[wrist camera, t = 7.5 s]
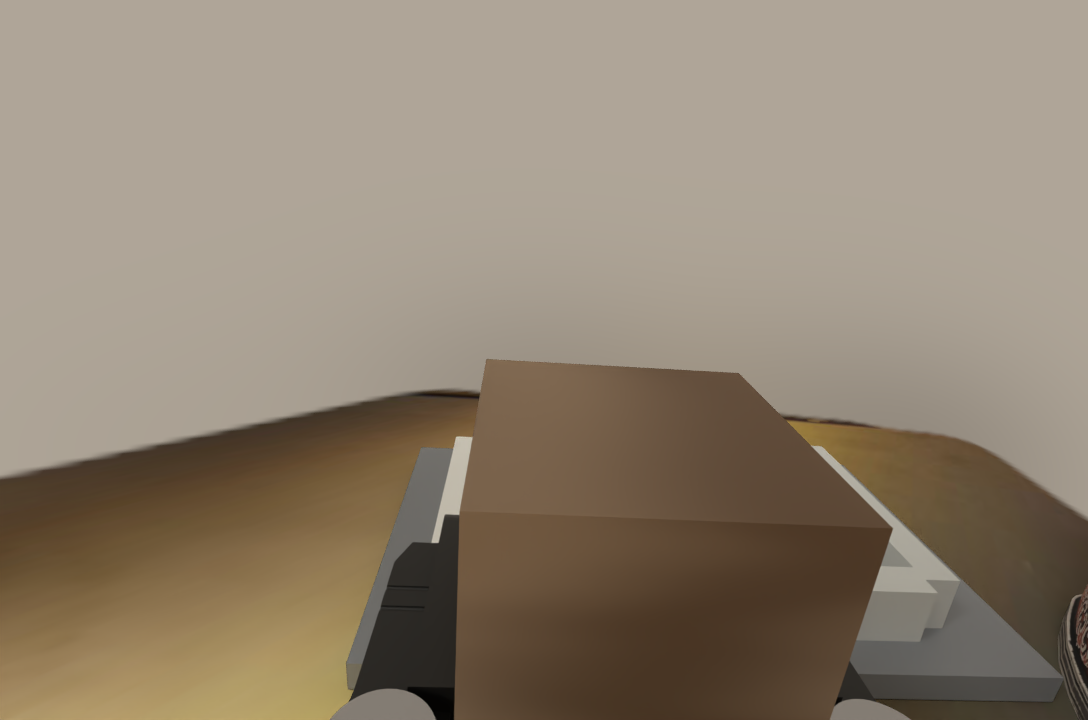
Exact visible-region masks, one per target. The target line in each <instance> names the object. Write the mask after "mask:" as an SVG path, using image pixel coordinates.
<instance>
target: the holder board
mask: <svg viewBox="0 0 1088 720" xmlns="http://www.w3.org/2000/svg"><path fill="white" fill-rule="evenodd" d="M472 438H473V437H456V440H455V444H454V449H450V448H426V447H421V450H420V453H419V456H418V458H417V461H416V464H415V467H414V470H413V473H412V476H411V479H410V481H409V484H408V487H407V490H406V493H405V496H404V499H403V502H402V504H401V507H400V510H399V513H398V516H397V519H396V522H395V525H394V527H393V530H392V533H391V536H390V539H389V542H388V545H387V548H386V550H385V553H384V556H383V559H382V562H381V565H380V568H379V571H378V573H377V576H376V579H375V582H374V585H373V588H372V591H371V594H370V596H369V599H368V602H367V605H366V608H365V611H364V614H363V617H362V619H361V622H360V625H359V628H358V631H357V634H356V637H355V640H354V642H353V645H352V648H351V651H350V654H349V657H348V660H347V663H346V668H347V684H348V689H354V688H355V685H356V682H357V679H358V676H359V672H360V669H361V666H362V663H363V660H364V657H365V653H366V650H367V647H368V644H369V641H370V638H371V634H372V631H373V628H374V625H375V622H376V618H377V615H378V612H379V610H380V608H381V603H382V599H383V596H384V593H385V590H386V589H387V584H388V580H389V577H390V574H391V571H392V568H393V564H394V562H395V560H396V559H397V558H398V557H399V556H400V555H401V554H402V553H403V552H404V551H405V550H406V549H407V548H408V547H409V545H410V544H411V543H412V542H423V543H439V538H440V534H441V529H442V524H443V520H444V516H445V514H452V515H459V513H460V506H461V500H462V494H463V489H464V483H465V477H466V472H467V466H468V461H469V455H470V449H471V444H472ZM812 447H813V448H814V449H815V450H816V451H817V452H818V453H819V454H820V455H821V456H822V457H823V458H824V459H825V460H826V461H827V462H828V463H829V464H830V465H831V466H832V467H833V468H834V469H835V470H836V471H837V472H838V473H839V474H840V475H841V476H842V477H843V478H844V480H845V481H846V482H847V483H848V484H849V485H850V486H851V487H852V488H853V489H854V490H855V491H856V492H857V493H858V494H859V495H860V496H861V497H862V498H863V499H864V500H865V501H866V502H867V503H868V504H869V505H870V506H871V507H872V508H873V509H874V510H875V511H876V512H877V513H878V514H879V515H880V516H881V517H882V518H883V519H884V520H885V521H886V522H887V523H888V524H889V525H890V526H891V527H892V528H893V531H892V534H891V537H890V540H889V543H888V546H887V549H886V552H885V555H884V558H883V561H882V564H881V567H880V570H879V573H878V576H877V579H876V582H875V585H874V588H873V591H872V594H871V597H870V600H869V603H868V606H867V609H866V612H865V615H864V618H863V621H862V624H861V627H860V630H859V633H858V636H857V639H856V642H855V645H854V648H853V651H852V654H851V657H850V662H851V664H852V665H853V667H854V668H855V670H856V671H857V673H858V674H859V676H860V678H861V679H862V681H863V682H864V684H865V685H866V687H867V688H868V690H869V691H870V693H871V695H872V696H873V698H874V699H921V700H977V701H1032V702H1053V700H1054V698H1055V696H1056V694H1057V692H1058V690H1059V688H1060V686H1061V684H1062V682H1063V680H1064V677H1063V676H1062V675H1061V674H1060V673H1058V672H1057V671H1056V670H1055V669H1054V668H1053V667H1052V666H1051V665H1050V664H1049V663H1048V662H1047V661H1046V660H1045V659H1044V658H1043V657H1042V656H1041V655H1040V654H1039V653H1038V652H1037V651H1036V650H1035V649H1034V648H1032V647H1031V646H1030V645H1029V644H1028V643H1027V642H1026V641H1025V640H1024V639H1023V638H1022V637H1021V636H1020V635H1019V634H1018V633H1017V632H1016V631H1015V630H1014V629H1013V628H1012V627H1011V626H1010V625H1009V624H1008V623H1007V622H1005V621H1004V620H1003V619H1002V618H1001V617H1000V616H999V615H998V614H997V613H996V612H995V611H994V610H993V609H992V608H991V607H990V606H989V605H988V604H987V603H986V602H985V601H984V600H983V599H982V598H981V597H979V596H978V595H977V594H976V593H975V592H974V591H973V590H972V589H971V588H970V587H969V586H968V585H967V584H966V583H965V582H964V581H963V580H962V579H961V578H960V577H959V576H958V575H957V574H956V573H955V572H953V571H952V570H951V569H950V568H949V567H948V566H947V565H946V564H945V563H944V562H943V561H942V560H941V559H940V558H939V557H938V556H937V555H936V554H935V553H934V552H933V551H932V550H931V549H930V548H929V547H928V546H926V545H925V544H924V543H923V542H922V541H921V540H920V539H919V538H918V537H917V536H916V535H915V534H914V533H913V532H912V531H911V530H910V529H909V528H908V527H907V526H906V525H905V524H904V523H903V522H902V521H900V520H899V519H898V518H897V517H896V516H895V515H894V514H893V513H892V512H891V511H890V510H889V509H888V508H887V507H886V506H885V505H884V504H883V503H882V502H881V501H880V500H879V499H878V498H877V497H876V496H874V495H873V494H872V493H871V492H870V491H869V490H868V489H867V488H866V487H865V486H864V485H863V484H862V483H861V482H860V481H859V480H858V479H857V478H856V477H855V476H854V475H853V474H852V473H851V472H850V471H849V470H847V469H846V468H845V467H844V466H843V465H840V464H839V463H838V462H837V461H836V460H835V459H834V458H833V457H832V456H831V455H830V454H829V453H828V452H827V451H826V450H825V449H824V448H823V447H822V446H812Z"/></svg>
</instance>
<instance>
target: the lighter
mask: <svg viewBox="0 0 1088 720" xmlns="http://www.w3.org/2000/svg"><path fill="white" fill-rule="evenodd" d="M1058 661H1059V666H1060V670H1061V673H1062V676H1063V677H1064V684H1065V687H1066V691H1067V694H1068V697H1069V699H1070V701H1071V704H1072V706H1073V708H1074V710H1075V712H1076V715H1077V717H1078V719H1079V720H1088V584H1087V586H1086V588H1085V590H1084V592H1083V594H1082V595H1076V596H1075V597H1073V598H1072V600H1071V602H1070V604H1069V606H1068V609H1067V611H1066V613H1065V615H1064V617H1063V621H1062V624H1061V628H1060V631H1059V635H1058Z"/></svg>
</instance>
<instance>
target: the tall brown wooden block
mask: <svg viewBox="0 0 1088 720" xmlns="http://www.w3.org/2000/svg"><path fill="white" fill-rule="evenodd" d="M892 531H893V528H892V527H891V526H890V525H889V524H888V523H887V522H886V521H885V520H884V519H883V518H882V517H881V516H880V515H879V514H878V513H877V512H876V511H875V510H874V509H873V508H872V507H871V506H870V505H869V504H868V503H867V502H866V501H865V500H864V499H863V498H862V497H861V496H860V495H859V494H858V493H857V492H856V491H855V490H854V489H853V488H852V487H851V486H850V485H849V484H848V483H847V482H846V481H845V480H844V478H843V477H842V476H841V475H840V474H839V473H838V472H837V471H836V470H835V469H834V468H833V467H832V466H831V465H830V464H829V463H828V462H827V461H826V460H825V459H824V458H823V457H822V456H821V455H820V454H819V453H818V452H817V451H816V450H815V449H814V448H813V447H812V446H811V445H810V444H809V443H808V442H807V441H806V440H805V439H804V438H803V437H802V436H801V435H800V434H799V433H798V432H797V431H796V430H795V429H794V428H793V427H792V426H791V425H790V424H789V423H788V422H787V421H786V420H785V419H784V418H783V417H782V416H781V415H780V414H779V413H778V412H777V411H776V410H775V409H774V408H773V407H772V406H771V405H770V404H769V403H768V402H767V401H766V400H765V399H764V398H763V397H762V396H761V395H760V394H759V393H758V392H757V391H756V390H755V389H754V388H753V387H752V386H751V385H750V384H749V383H748V382H747V381H746V380H745V379H744V378H743V377H742V376H741V375H740V374H739V373H726V372H725V373H724V372H709V371H690V370H673V369H672V370H671V369H654V368H637V367H619V366H601V365H582V364H564V363H547V362H528V361H511V360H493V359H487V360H486V365H485V371H484V376H483V382H482V387H481V393H480V398H479V404H478V410H477V415H476V421H475V427H474V432H473V438H472V444H471V449H470V455H469V461H468V466H467V472H466V477H465V483H464V489H463V494H462V500H461V506H460V513H459V551H458V590H457V628H456V667H455V706H454V720H830V718H831V715H832V712H833V709H834V706H835V703H836V700H837V697H838V694H839V691H840V688H841V685H842V682H843V679H844V676H845V673H846V670H847V667H848V664H849V661H850V657H851V654H852V651H853V648H854V645H855V642H856V639H857V636H858V633H859V630H860V627H861V624H862V621H863V618H864V615H865V612H866V609H867V606H868V603H869V600H870V597H871V594H872V591H873V588H874V585H875V582H876V579H877V576H878V573H879V570H880V567H881V564H882V561H883V558H884V555H885V552H886V549H887V546H888V543H889V540H890V537H891V534H892Z"/></svg>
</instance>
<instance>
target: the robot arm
mask: <svg viewBox="0 0 1088 720" xmlns="http://www.w3.org/2000/svg"><path fill="white" fill-rule="evenodd" d="M458 551H459V515H452V514H445V516H444V520H443V524H442V529H441V534H440V538H439V543H423V542H412V543H411V544H410V545H409V547H408V548H407V549H406V550H405V551H404V552H403V553H402V554H401V555H400V556H399V557H398V558H397V559H396V560H395V562H394V564H393V568H392V571H391V574H390V577H389V580H388V584H387V589H386V590H385V593H384V596H383V599H382V603H381V608H380V610H379V612H378V615H377V618H376V622H375V625H374V628H373V631H372V634H371V638H370V641H369V644H368V647H367V650H366V653H365V657H364V660H363V663H362V666H361V669H360V672H359V676H358V679H357V682H356V685H355V688H354V691H353V694H352V696H351V699H350V700H349V702H348V703H347V704H345V705H344V706H343V707H342V708H340V709H339V710H338V711H337V712H336V713H335V714H334V715H333V716H332V718H331V719H330V720H454V706H455V667H456V628H457V590H458ZM830 720H911V719H909V718H908V717H906V716H905V715H903V714H902V713H900V712H898V711H896V710H894V709H892V708H890V707H888V706H886V705H883V704H881V703H877V702H876V701H875V699H874V698H873V696H872V695H871V693H870V691H869V690H868V688H867V687H866V685H865V684H864V682H863V681H862V679H861V678H860V676H859V674H858V673H857V671H856V670H855V668H854V667H853V665H852V664H851V662H850V661H849V664H848V667H847V670H846V673H845V676H844V679H843V682H842V685H841V688H840V691H839V694H838V697H837V700H836V703H835V706H834V709H833V712H832V715H831V718H830Z"/></svg>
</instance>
